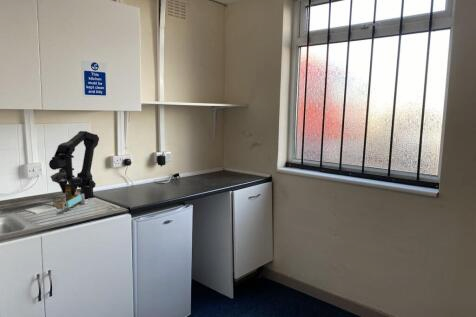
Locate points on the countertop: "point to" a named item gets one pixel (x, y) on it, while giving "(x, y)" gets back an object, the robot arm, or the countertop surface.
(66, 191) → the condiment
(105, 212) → the countertop surface
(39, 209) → the mat
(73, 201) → the bar
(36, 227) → the countertop surface
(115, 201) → the countertop surface
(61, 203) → the holder
